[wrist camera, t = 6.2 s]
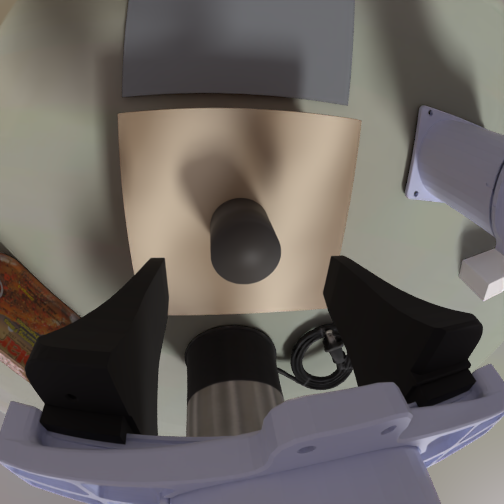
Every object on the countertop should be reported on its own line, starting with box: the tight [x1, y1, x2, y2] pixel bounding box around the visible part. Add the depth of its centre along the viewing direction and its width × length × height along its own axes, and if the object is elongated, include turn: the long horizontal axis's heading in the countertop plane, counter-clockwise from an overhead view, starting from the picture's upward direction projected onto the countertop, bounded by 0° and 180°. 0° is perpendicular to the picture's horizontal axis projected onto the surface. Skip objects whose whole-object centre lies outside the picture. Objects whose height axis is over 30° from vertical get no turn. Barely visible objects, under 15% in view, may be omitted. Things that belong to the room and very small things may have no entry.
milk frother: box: [185, 324, 353, 437], centre depth 23 cm, size 14×16×15 cm
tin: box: [0, 253, 80, 383], centre depth 19 cm, size 15×3×8 cm, turn 36°
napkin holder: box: [459, 248, 504, 301], centre depth 27 cm, size 15×11×6 cm
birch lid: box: [118, 108, 362, 315], centre depth 15 cm, size 12×12×4 cm
